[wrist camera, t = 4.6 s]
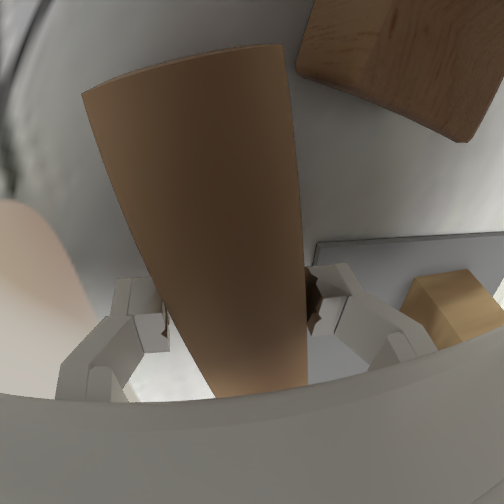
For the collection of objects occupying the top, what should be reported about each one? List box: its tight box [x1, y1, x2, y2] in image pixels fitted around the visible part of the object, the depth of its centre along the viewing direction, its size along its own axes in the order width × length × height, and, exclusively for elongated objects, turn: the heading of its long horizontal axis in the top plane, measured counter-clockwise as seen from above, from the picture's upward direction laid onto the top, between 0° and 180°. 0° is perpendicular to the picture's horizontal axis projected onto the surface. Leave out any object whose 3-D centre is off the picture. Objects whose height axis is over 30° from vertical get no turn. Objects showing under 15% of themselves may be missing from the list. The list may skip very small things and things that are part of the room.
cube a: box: [399, 269, 504, 351], centre depth 16 cm, size 5×5×5 cm
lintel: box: [81, 44, 308, 398], centre depth 11 cm, size 4×14×3 cm, turn 9°
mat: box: [307, 232, 504, 385], centre depth 21 cm, size 20×18×1 cm
